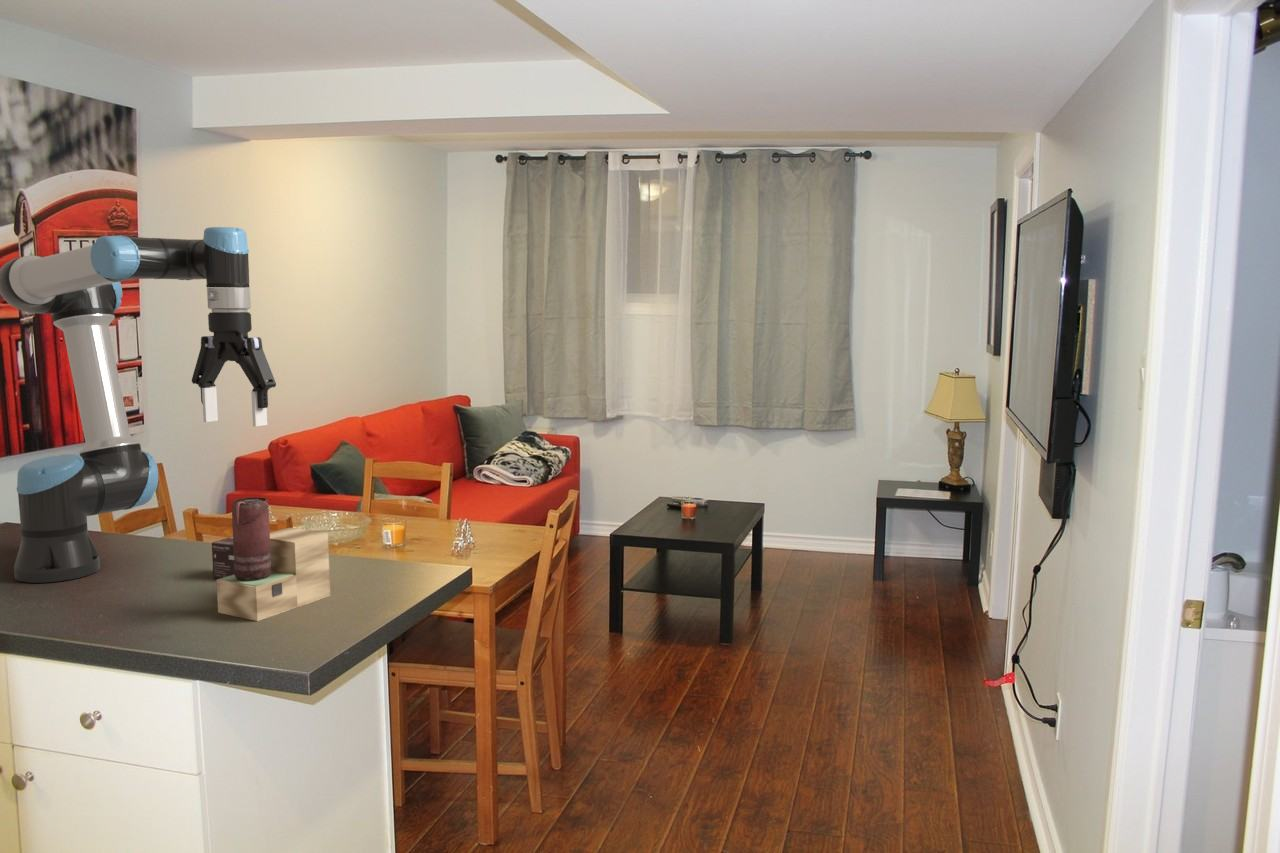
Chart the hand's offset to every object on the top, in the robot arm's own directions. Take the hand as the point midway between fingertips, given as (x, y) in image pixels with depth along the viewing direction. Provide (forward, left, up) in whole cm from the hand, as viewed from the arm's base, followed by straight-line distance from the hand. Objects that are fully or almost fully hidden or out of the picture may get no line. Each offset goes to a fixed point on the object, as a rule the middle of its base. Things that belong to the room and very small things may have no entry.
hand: (235, 423), depth 196 cm
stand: (+15, -5, -32) cm, 35 cm away
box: (-7, +4, -32) cm, 33 cm away
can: (+15, -10, -26) cm, 31 cm away
